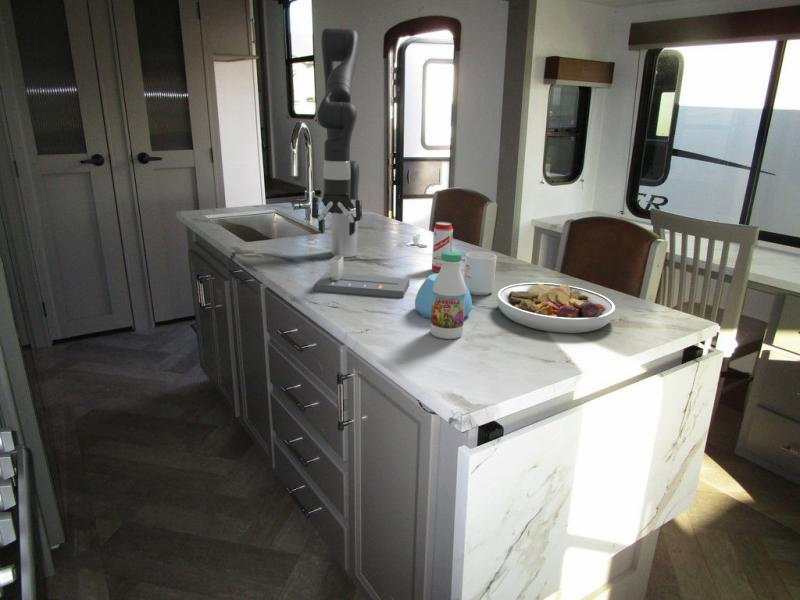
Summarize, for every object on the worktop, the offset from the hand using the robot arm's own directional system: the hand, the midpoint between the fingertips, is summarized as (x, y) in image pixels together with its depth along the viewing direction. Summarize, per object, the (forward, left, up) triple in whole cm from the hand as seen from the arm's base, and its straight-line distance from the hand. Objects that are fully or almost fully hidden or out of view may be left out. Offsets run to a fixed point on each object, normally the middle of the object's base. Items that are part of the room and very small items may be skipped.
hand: (336, 234), depth 165 cm
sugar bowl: (+16, +33, -16) cm, 40 cm away
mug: (-7, +41, -16) cm, 45 cm away
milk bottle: (+31, +35, -16) cm, 49 cm away
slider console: (0, +8, -16) cm, 18 cm away
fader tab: (0, 0, -13) cm, 13 cm away
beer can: (-26, +29, -16) cm, 42 cm away
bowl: (+11, +62, -16) cm, 65 cm away
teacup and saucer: (-59, +16, -16) cm, 63 cm away
